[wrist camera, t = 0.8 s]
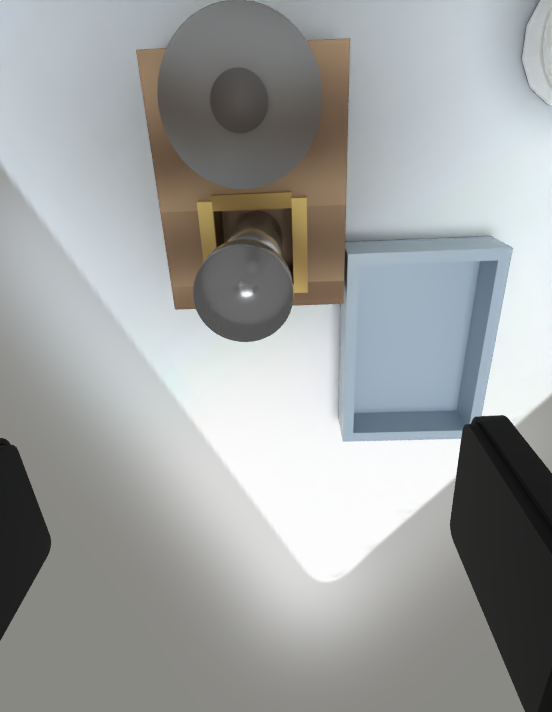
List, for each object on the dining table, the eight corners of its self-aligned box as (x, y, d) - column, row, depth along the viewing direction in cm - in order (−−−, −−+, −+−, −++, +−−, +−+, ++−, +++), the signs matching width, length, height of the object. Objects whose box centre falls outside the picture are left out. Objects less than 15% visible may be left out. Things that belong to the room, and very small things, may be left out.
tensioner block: (154, 38, 25) (102, 4, 18) (340, 28, 24) (363, -12, 17) (187, 288, 31) (159, 336, 24) (336, 282, 31) (352, 330, 24)
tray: (341, 242, 29) (347, 254, 27) (491, 236, 29) (512, 247, 26) (338, 416, 35) (342, 441, 33) (462, 413, 35) (477, 438, 32)
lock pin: (222, 203, 28) (186, 248, 18) (289, 200, 27) (291, 244, 17) (228, 268, 29) (199, 343, 19) (291, 266, 29) (294, 340, 19)
